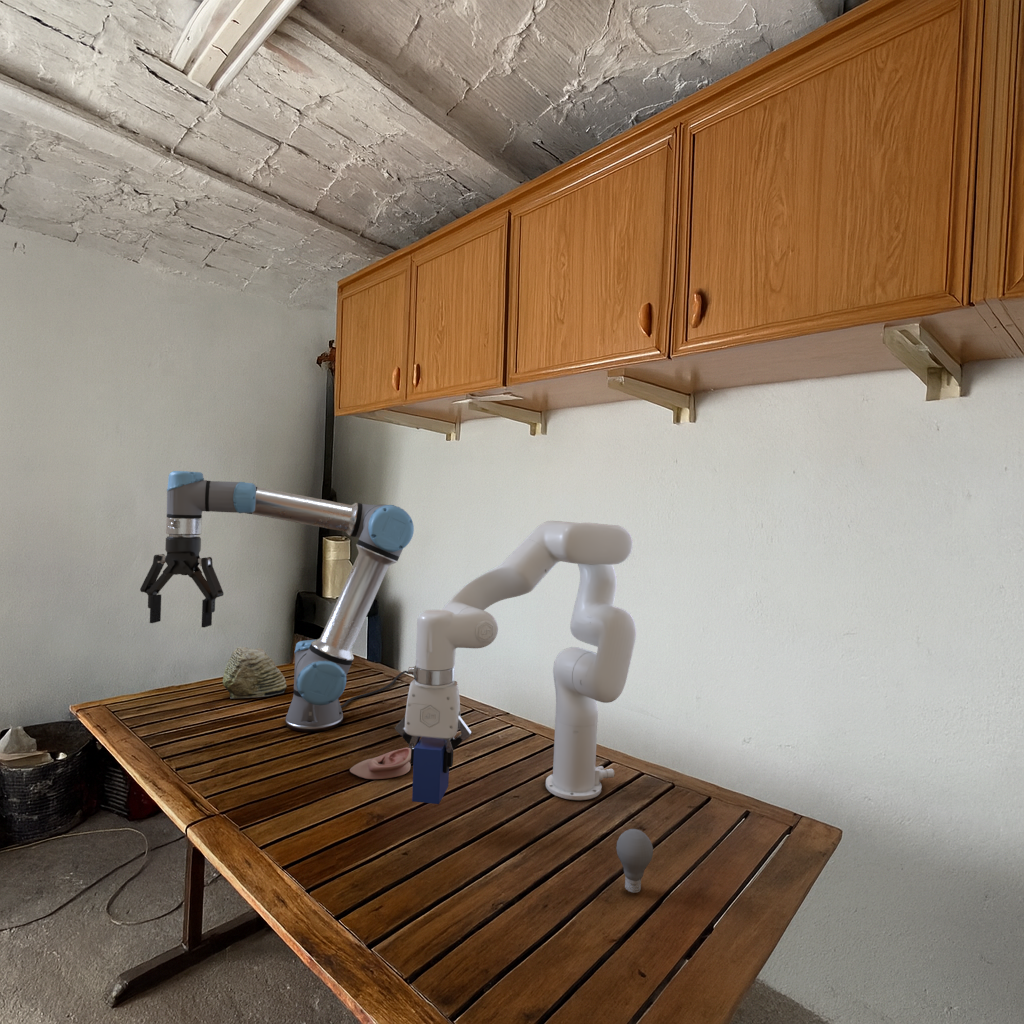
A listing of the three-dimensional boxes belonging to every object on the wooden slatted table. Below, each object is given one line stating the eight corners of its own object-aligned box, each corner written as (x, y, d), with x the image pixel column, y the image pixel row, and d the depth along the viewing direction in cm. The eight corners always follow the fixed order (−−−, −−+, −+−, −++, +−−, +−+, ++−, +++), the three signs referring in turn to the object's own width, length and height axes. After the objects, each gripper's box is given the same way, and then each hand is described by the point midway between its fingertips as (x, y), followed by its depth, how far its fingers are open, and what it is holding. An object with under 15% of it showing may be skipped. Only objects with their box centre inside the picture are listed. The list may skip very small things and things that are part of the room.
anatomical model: (344, 758, 144) (365, 740, 155) (343, 775, 144) (365, 756, 155) (399, 766, 141) (417, 746, 152) (398, 783, 141) (416, 763, 152)
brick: (412, 801, 119) (413, 747, 118) (422, 783, 126) (424, 733, 126) (439, 804, 118) (441, 750, 118) (448, 786, 125) (450, 735, 125)
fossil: (218, 695, 195) (220, 647, 195) (278, 685, 208) (279, 640, 207) (228, 703, 189) (230, 653, 188) (289, 692, 201) (290, 645, 201)
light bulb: (610, 879, 108) (613, 822, 108) (644, 879, 109) (647, 822, 109) (619, 902, 102) (622, 840, 102) (655, 901, 103) (658, 840, 103)
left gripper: (125, 533, 149) (122, 623, 150) (222, 539, 146) (218, 631, 146) (148, 532, 157) (145, 617, 157) (240, 537, 153) (237, 625, 153)
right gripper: (385, 677, 119) (382, 772, 119) (474, 684, 117) (471, 781, 117) (398, 666, 126) (395, 756, 127) (482, 673, 124) (478, 764, 125)
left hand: (180, 624), depth 152 cm, fingers open, 13 cm apart
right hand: (431, 767), depth 122 cm, fingers closed on brick, 5 cm apart
